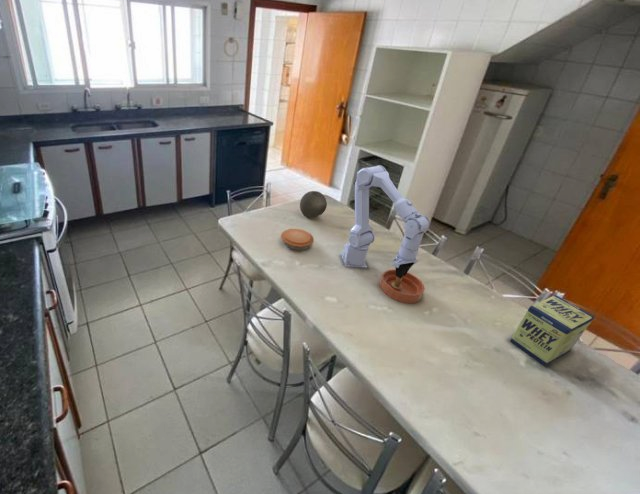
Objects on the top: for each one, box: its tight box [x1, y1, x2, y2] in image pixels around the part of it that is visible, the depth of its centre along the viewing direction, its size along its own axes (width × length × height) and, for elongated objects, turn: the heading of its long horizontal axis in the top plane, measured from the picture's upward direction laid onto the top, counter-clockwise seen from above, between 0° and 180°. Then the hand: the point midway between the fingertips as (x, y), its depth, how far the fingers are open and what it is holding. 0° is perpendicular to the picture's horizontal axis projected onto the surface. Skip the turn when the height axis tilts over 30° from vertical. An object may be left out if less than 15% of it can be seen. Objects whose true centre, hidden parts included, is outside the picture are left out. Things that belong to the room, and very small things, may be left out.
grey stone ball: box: [299, 190, 328, 219], centre depth 178 cm, size 14×14×15 cm
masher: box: [391, 277, 403, 292], centre depth 127 cm, size 4×4×10 cm
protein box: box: [509, 294, 596, 367], centre depth 105 cm, size 10×16×16 cm
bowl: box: [379, 269, 426, 304], centre depth 129 cm, size 15×15×4 cm
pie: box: [280, 228, 314, 251], centre depth 155 cm, size 16×16×5 cm
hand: (400, 275), depth 126 cm, fingers closed on masher, 2 cm apart
